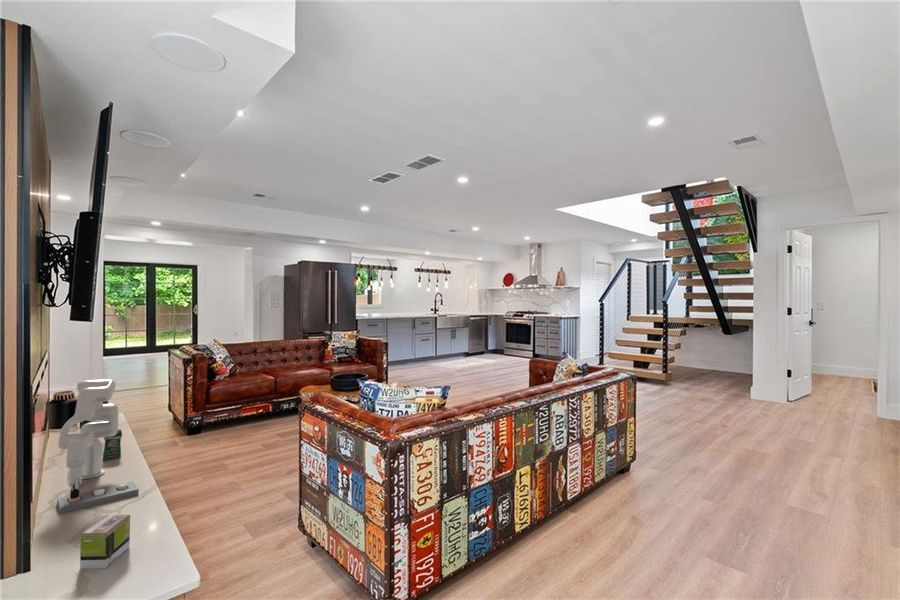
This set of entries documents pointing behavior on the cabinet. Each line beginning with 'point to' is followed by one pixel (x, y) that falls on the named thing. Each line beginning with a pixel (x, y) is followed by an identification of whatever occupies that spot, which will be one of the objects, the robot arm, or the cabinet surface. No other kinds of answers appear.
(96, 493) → the cream button
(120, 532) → the tea box
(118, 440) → the green snack bag
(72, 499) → the terracotta button
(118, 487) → the sage button
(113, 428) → the robot arm
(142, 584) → the cabinet surface
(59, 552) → the cabinet surface
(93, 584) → the cabinet surface
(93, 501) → the button panel
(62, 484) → the cabinet surface
